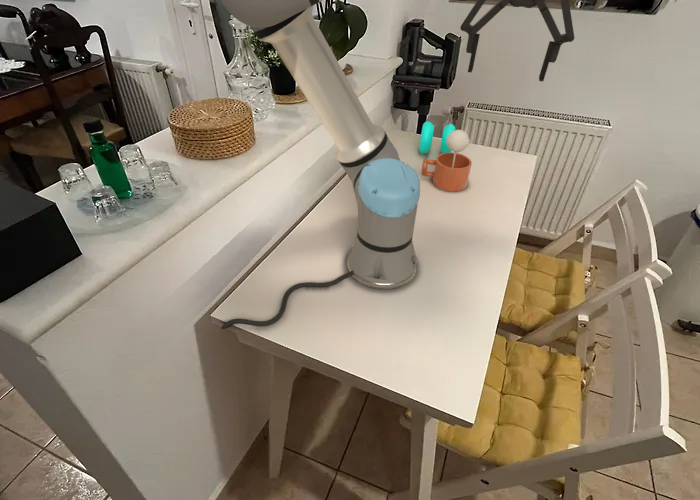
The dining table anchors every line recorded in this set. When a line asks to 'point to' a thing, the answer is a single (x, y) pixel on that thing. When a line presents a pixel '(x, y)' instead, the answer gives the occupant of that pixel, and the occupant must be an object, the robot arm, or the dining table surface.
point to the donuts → (428, 136)
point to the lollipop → (457, 142)
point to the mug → (448, 171)
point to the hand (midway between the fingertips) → (505, 74)
